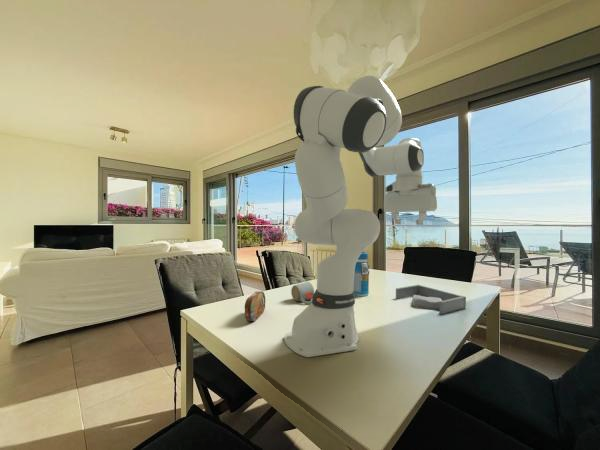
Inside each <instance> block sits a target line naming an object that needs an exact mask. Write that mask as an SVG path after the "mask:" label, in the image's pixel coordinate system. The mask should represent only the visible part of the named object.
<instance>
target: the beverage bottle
mask: <svg viewBox="0 0 600 450" xmlns="http://www.w3.org/2000/svg"><path fill="white" fill-rule="evenodd" d="M368 255H369V254H368V252H365V251H363V252H362V253H361V255H360V256H359V258H358V260H357V262H356V265H355V271H354V285H353V290H354V292H355V297H367V296H368V295H369V294H370V292H369V288H370V287H369V286H370V285H369V282H370V270H369V268H370V266H369V263H368V261H367V260H368Z"/></svg>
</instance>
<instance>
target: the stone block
mask: <svg viewBox="0 0 600 450" xmlns="http://www.w3.org/2000/svg"><path fill="white" fill-rule="evenodd" d="M440 301H442V300H441V298H437V297H424V296H420V295H413V296H412V299H411V305H412V307H414V308H420V309H421V308H422V309H431V310H438V311H440Z"/></svg>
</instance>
